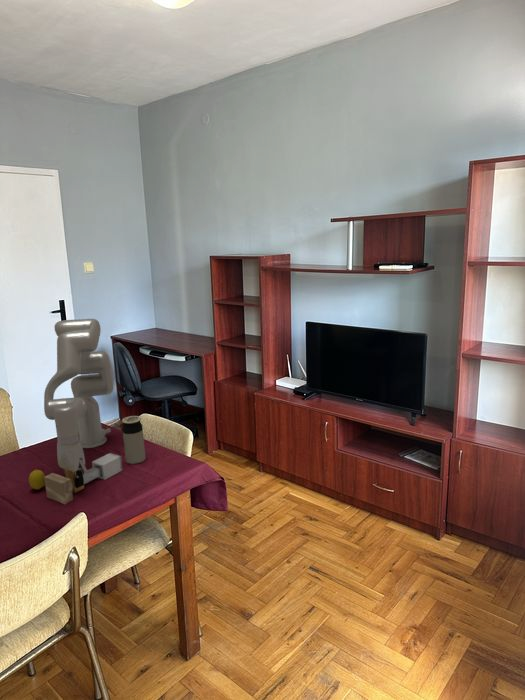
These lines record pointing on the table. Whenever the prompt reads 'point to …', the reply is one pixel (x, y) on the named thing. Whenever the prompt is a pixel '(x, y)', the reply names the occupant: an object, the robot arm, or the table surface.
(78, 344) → the robot arm
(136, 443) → the travel mug
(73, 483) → the multicoloured angled piece
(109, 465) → the sleeve
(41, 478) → the lemon
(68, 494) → the socket block
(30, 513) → the table surface
